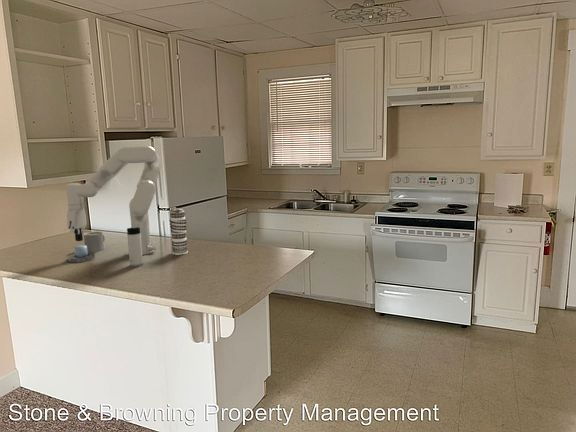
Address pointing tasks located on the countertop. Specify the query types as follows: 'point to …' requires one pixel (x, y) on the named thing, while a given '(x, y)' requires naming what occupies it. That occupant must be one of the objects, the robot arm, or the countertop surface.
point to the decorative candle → (178, 231)
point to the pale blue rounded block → (81, 251)
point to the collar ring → (81, 258)
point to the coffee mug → (94, 241)
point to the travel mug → (135, 247)
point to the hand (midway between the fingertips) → (79, 240)
